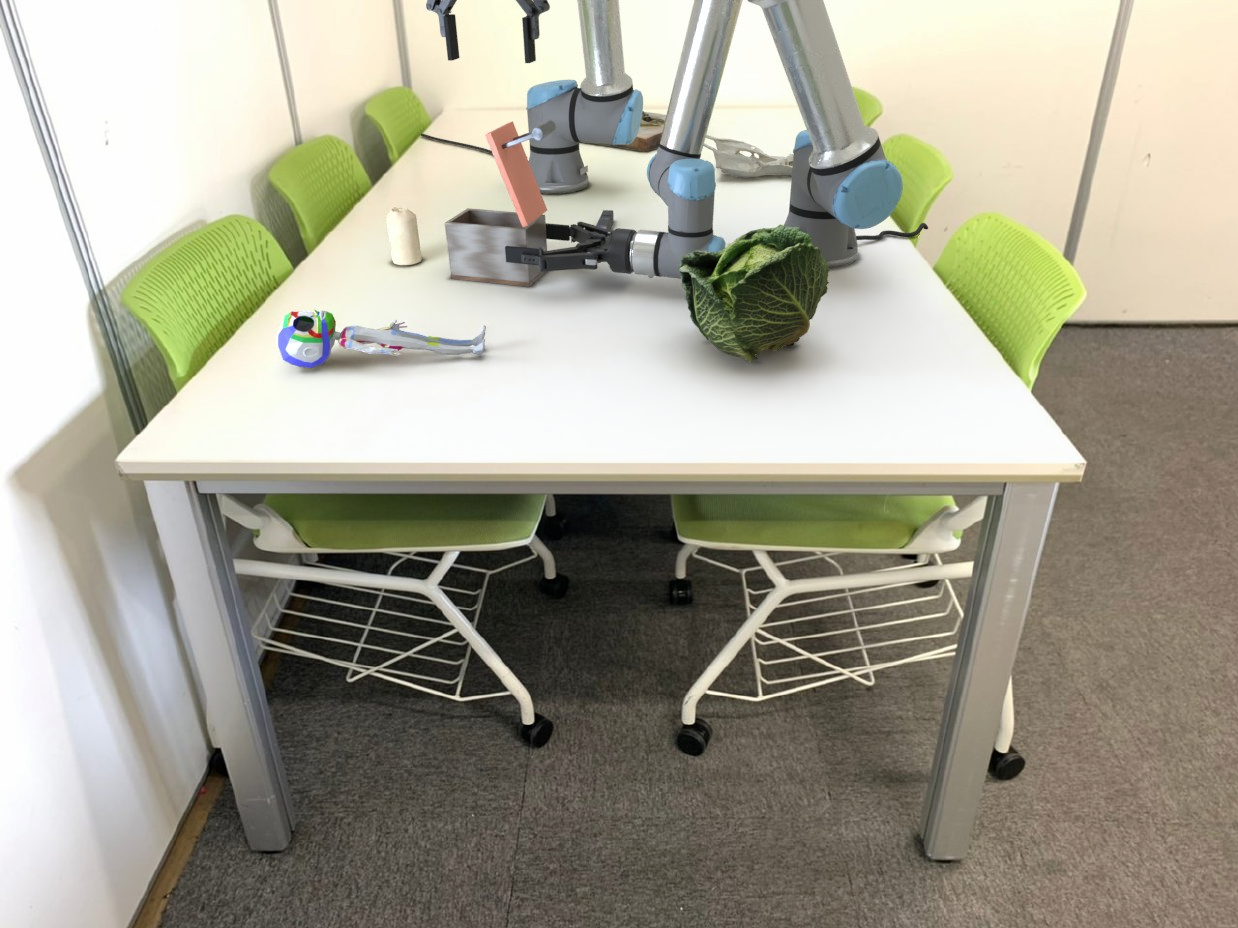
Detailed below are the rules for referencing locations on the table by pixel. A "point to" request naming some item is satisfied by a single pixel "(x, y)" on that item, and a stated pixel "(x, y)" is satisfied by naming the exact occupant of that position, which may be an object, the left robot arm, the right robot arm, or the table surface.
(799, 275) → the vegetable
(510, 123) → the lid
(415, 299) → the table surface
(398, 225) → the candle
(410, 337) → the toy
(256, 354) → the table surface
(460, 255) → the chest
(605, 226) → the pillar
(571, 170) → the left robot arm
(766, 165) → the anatomical model
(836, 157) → the right robot arm
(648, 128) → the plaque
